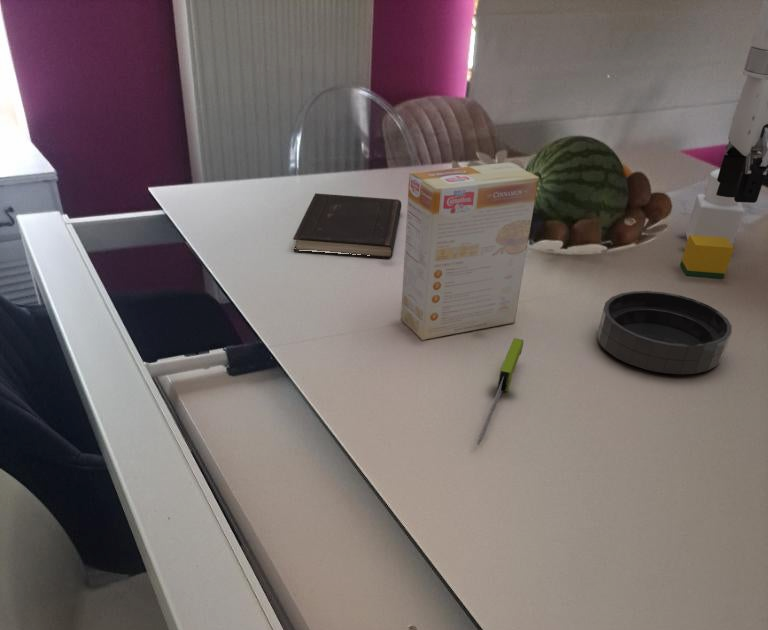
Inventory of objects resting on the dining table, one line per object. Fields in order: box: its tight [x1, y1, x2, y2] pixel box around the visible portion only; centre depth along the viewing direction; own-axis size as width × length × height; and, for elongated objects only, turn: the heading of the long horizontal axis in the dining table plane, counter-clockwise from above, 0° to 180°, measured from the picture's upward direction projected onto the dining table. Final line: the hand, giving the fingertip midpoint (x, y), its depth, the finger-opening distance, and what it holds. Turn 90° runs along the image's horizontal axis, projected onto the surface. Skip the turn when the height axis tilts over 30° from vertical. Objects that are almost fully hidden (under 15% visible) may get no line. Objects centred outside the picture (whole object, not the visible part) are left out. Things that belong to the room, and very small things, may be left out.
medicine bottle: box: [685, 168, 745, 247], centre depth 128 cm, size 7×7×12 cm
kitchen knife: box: [476, 337, 524, 445], centre depth 86 cm, size 22×1×3 cm, turn 161°
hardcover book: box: [292, 192, 402, 260], centre depth 127 cm, size 16×23×2 cm
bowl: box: [596, 290, 733, 375], centre depth 98 cm, size 16×16×4 cm
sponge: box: [679, 235, 735, 279], centre depth 119 cm, size 6×4×5 cm
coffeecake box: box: [400, 161, 540, 341], centre depth 97 cm, size 15×7×20 cm, turn 115°
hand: (735, 191), depth 114 cm, fingers open, 9 cm apart
